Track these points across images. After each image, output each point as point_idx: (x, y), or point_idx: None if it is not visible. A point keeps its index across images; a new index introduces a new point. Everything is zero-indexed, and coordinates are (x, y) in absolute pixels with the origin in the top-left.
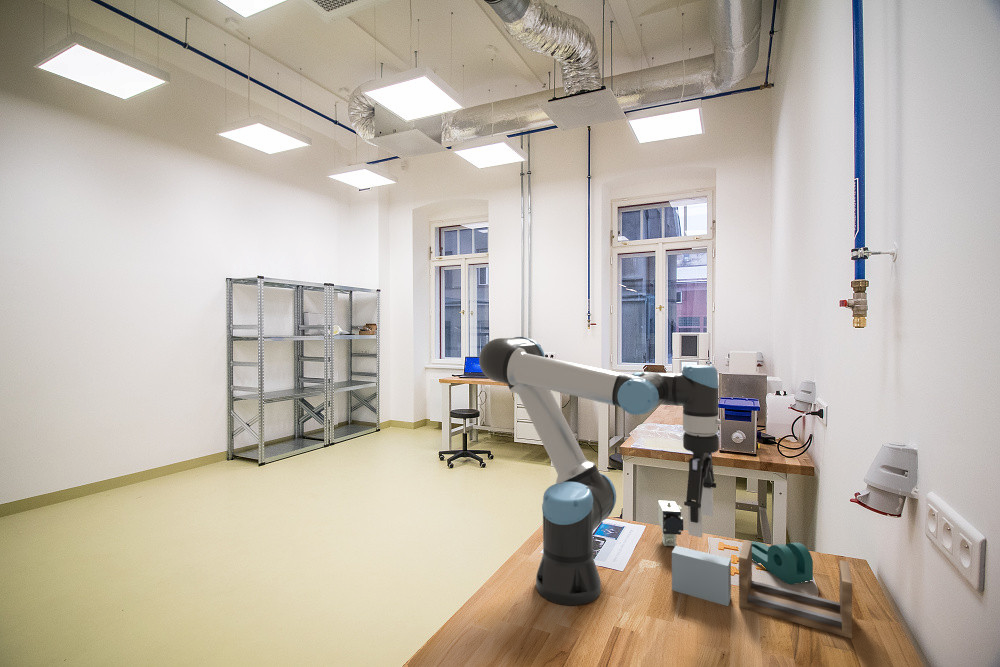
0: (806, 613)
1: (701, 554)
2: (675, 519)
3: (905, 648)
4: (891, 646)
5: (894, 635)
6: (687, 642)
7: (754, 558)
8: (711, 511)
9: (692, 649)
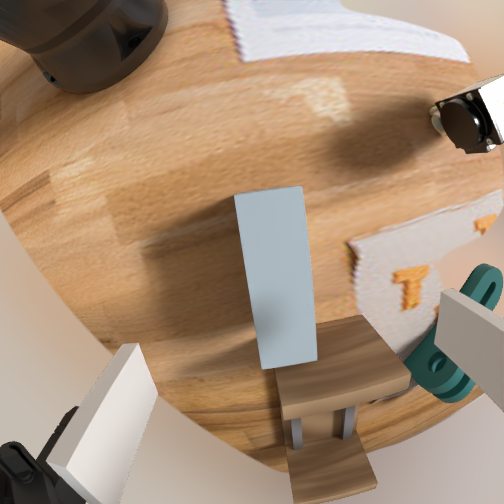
0: (291, 423)
1: (289, 287)
2: (474, 131)
3: None
4: None
5: None
6: (90, 289)
7: None
8: (447, 350)
9: (82, 301)
